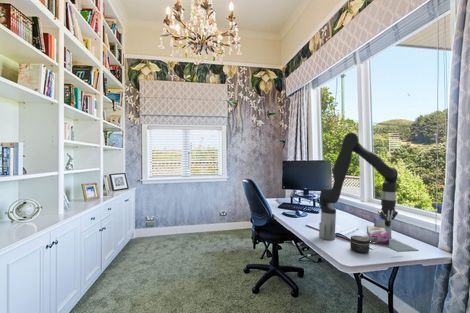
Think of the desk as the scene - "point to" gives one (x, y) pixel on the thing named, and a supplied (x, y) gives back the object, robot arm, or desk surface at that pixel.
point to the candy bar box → (377, 235)
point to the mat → (399, 246)
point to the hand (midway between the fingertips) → (387, 226)
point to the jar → (359, 244)
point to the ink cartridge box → (382, 225)
